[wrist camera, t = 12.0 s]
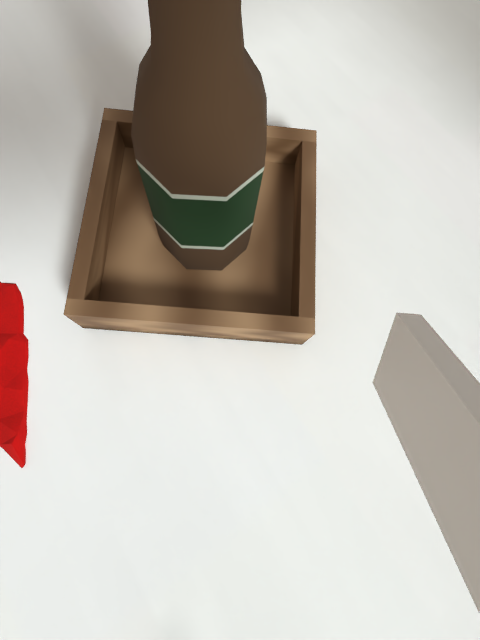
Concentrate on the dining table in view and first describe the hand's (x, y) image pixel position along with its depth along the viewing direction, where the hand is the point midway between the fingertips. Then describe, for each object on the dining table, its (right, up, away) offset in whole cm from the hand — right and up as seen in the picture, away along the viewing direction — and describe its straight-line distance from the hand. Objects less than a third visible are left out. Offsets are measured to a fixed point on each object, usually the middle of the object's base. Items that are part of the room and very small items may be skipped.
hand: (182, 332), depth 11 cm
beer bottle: (-1, +8, +20) cm, 22 cm away
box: (-1, +8, +21) cm, 22 cm away
